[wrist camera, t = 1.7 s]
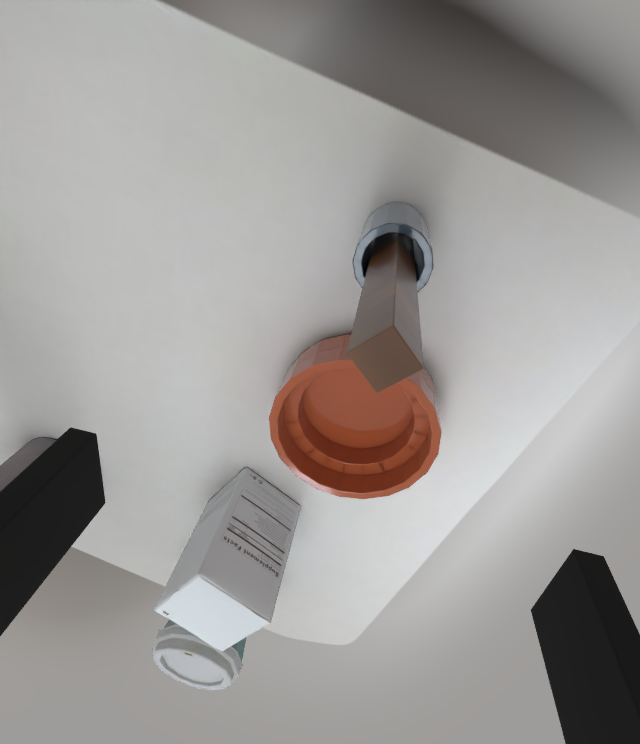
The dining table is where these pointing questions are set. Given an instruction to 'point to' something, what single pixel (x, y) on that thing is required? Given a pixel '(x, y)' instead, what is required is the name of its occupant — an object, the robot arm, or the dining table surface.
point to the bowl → (353, 425)
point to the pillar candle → (22, 459)
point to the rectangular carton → (232, 563)
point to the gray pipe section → (395, 221)
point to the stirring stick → (388, 315)
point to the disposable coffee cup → (196, 658)
